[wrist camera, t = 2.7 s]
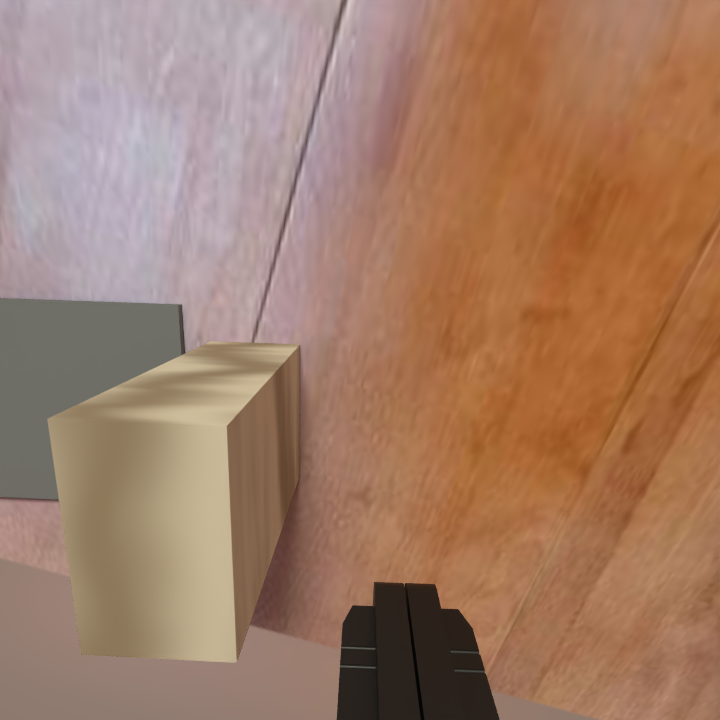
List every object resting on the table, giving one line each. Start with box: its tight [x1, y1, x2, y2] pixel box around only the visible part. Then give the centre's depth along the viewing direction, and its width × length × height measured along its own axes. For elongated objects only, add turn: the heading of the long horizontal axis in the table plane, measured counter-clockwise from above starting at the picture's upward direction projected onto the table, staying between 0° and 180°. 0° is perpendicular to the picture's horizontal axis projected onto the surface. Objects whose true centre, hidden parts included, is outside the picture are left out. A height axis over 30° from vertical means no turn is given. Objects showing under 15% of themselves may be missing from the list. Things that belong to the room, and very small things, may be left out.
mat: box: [0, 298, 185, 500], centre depth 24 cm, size 14×12×1 cm
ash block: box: [47, 341, 300, 663], centre depth 18 cm, size 5×8×12 cm, turn 178°
